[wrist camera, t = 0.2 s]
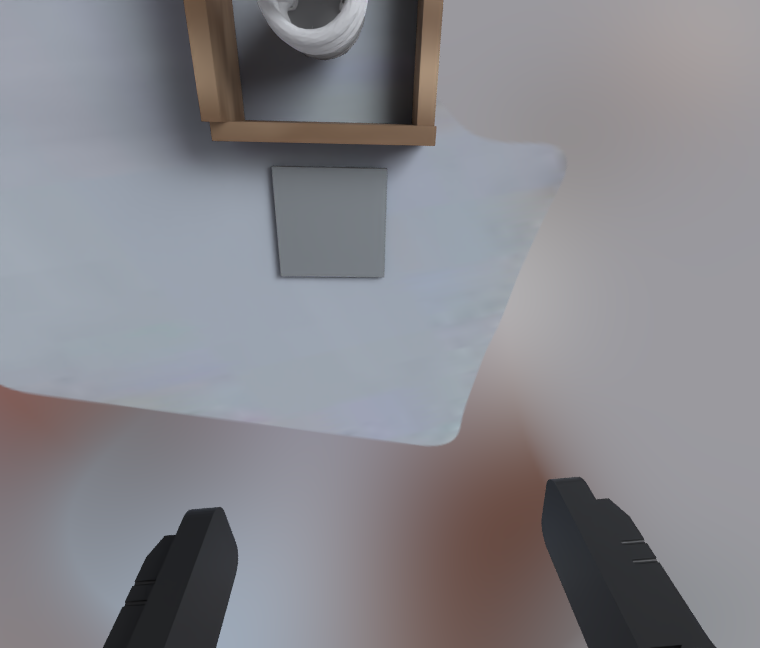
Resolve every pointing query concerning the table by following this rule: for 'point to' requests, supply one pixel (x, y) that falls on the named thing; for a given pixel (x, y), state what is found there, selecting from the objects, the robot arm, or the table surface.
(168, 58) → the table surface
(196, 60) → the wooden frame
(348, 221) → the slate mat
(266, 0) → the light bulb
